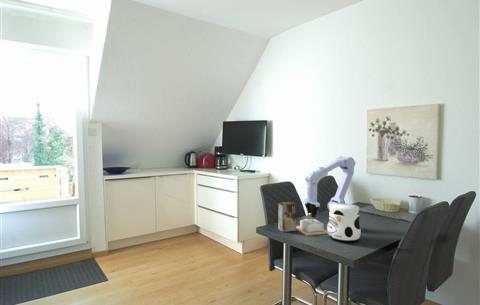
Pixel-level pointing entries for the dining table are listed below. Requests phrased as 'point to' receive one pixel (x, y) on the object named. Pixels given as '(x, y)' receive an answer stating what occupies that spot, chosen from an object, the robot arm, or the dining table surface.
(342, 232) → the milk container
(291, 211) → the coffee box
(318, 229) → the butter dish
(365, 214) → the dining table surface
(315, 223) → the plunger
